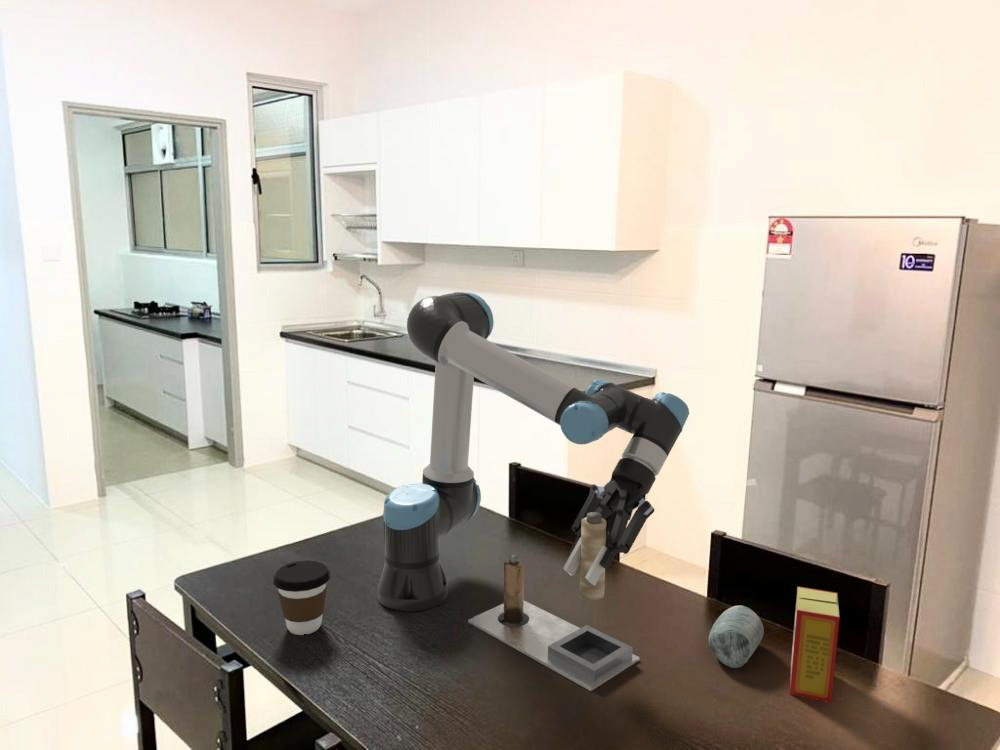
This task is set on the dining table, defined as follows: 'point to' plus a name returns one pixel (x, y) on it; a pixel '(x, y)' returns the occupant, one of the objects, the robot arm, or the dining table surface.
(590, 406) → the robot arm
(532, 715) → the dining table surface
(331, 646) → the dining table surface
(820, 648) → the baking soda box
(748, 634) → the spool
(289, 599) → the coffee cup
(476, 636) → the dining table surface
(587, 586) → the birch leg peg
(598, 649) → the bolt plate
